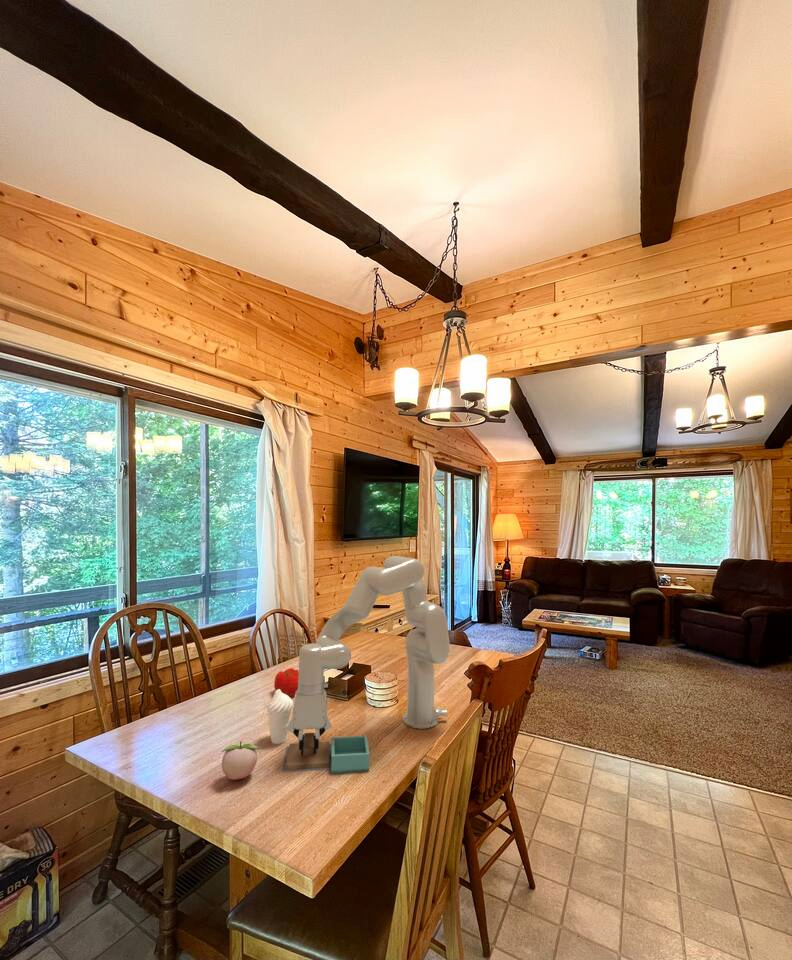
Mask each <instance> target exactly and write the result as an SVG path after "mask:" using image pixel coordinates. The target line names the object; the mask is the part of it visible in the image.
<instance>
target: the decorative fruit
mask: <svg viewBox="0 0 792 960" xmlns="http://www.w3.org/2000/svg"><path fill="white" fill-rule="evenodd" d="M257 750H259V748H258V747H257V745H255V744H253V743H242V741H240V742H239V745H238V744H230V745H229V746H227V747H225V748H224V749H223V750H222V751H221V753H223V752H224V754H223V756H222V759H221V769H222V773H223V775H225V776H226V778H228V779H229V780H232V781H240V780H242V779H245V778H247V777H249V775H250V774H251V773H252V772H253V770H254V769H255V767H256V765H257V761H258V754H257Z"/></svg>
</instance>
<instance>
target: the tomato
mask: <svg viewBox="0 0 792 960" xmlns="http://www.w3.org/2000/svg"><path fill="white" fill-rule="evenodd" d="M298 677H299V669H295V668H293V667H292V668H286V669H285V670H284V671H283V670H282V671H278V673H277V674H276V675H275V678H274V683H273V684H274V692H275V691H276V690H278V689H280V690H281V692H282V693H284V694H286V695H288V696H289V697H292V696H295V693H296V691H297V690H298Z"/></svg>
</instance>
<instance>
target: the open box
mask: <svg viewBox="0 0 792 960" xmlns="http://www.w3.org/2000/svg"><path fill="white" fill-rule="evenodd" d="M331 744H332V746H331V769H330V771H331V772H330V774H331V775H336V774H347V773H348V774H349V773H350V774H351V773H364V772H370V749H369V743H368V736H367V735H353V736H351V735H349V736H338V737H337V736H335V737H331Z"/></svg>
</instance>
